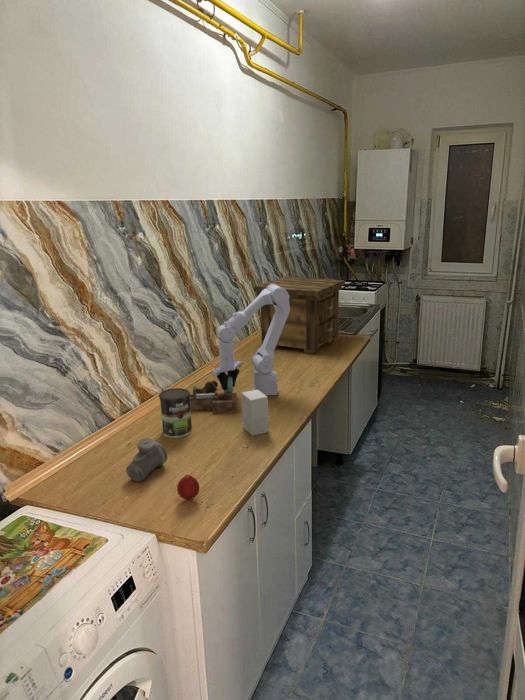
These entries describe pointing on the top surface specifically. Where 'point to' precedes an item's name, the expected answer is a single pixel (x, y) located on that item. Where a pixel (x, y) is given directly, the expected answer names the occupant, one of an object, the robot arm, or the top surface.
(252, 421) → the small box
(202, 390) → the bolt
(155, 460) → the pipe fitting
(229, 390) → the dowel
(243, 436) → the top surface
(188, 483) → the onion
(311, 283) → the crate
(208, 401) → the mount
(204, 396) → the lock bar
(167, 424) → the coffee can
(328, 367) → the top surface
